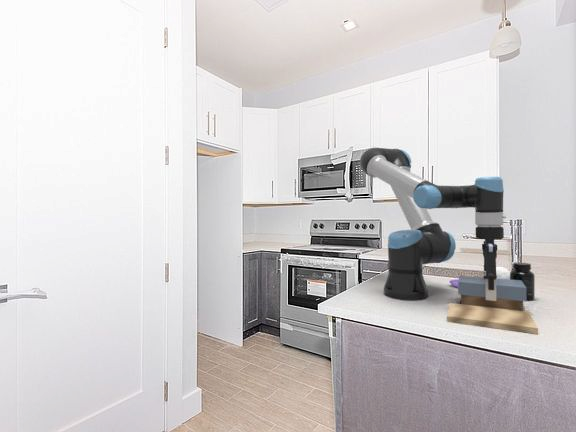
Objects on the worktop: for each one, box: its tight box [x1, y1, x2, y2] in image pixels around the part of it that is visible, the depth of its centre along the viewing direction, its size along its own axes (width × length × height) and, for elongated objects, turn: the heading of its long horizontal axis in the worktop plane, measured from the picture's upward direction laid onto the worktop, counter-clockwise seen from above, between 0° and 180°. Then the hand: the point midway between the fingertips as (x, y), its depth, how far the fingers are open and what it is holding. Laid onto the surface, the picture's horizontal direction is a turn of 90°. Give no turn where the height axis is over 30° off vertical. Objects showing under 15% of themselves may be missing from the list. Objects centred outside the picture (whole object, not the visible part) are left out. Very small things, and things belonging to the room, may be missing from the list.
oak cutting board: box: [446, 302, 539, 335], centre depth 89 cm, size 20×14×2 cm
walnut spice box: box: [460, 295, 524, 311], centre depth 101 cm, size 16×9×7 cm, turn 60°
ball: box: [496, 266, 511, 280], centre depth 127 cm, size 8×8×8 cm
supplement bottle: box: [509, 262, 536, 302], centre depth 109 cm, size 7×7×12 cm
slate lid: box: [457, 275, 527, 302], centre depth 101 cm, size 17×10×4 cm, turn 60°
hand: (489, 295), depth 101 cm, fingers closed on slate lid, 10 cm apart
